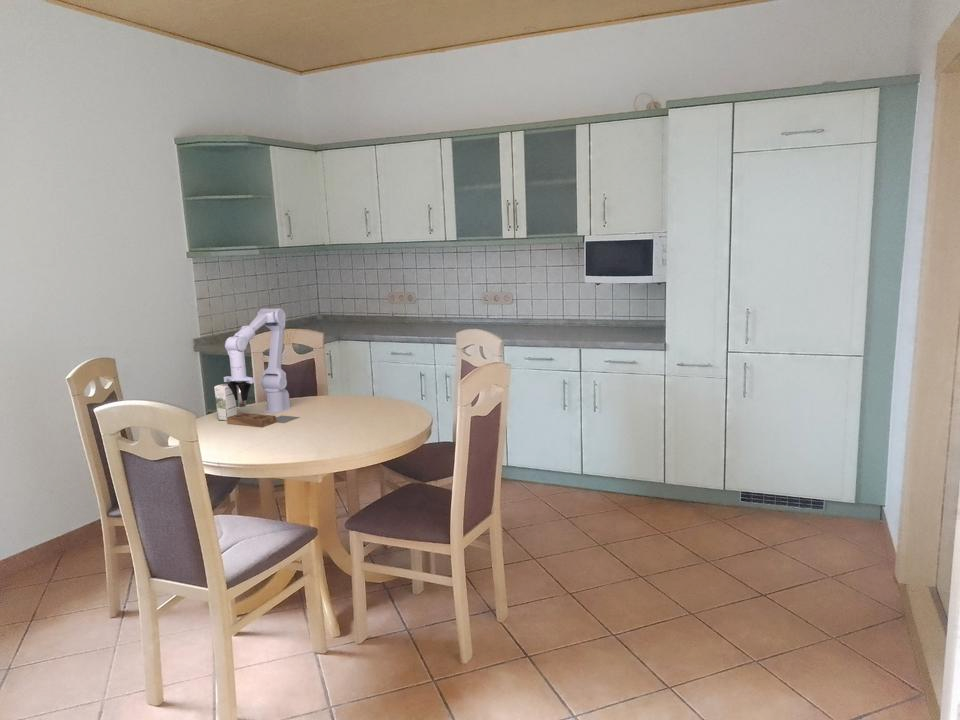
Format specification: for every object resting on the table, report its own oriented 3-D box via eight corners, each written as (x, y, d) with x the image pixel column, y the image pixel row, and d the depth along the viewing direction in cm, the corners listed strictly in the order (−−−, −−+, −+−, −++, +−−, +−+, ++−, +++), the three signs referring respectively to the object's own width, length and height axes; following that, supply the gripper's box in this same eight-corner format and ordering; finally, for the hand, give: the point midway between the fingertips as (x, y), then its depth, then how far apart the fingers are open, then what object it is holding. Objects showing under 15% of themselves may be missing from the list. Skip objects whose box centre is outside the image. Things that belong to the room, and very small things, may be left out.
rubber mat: (281, 416, 292) (281, 415, 292) (300, 417, 288) (300, 417, 288) (264, 422, 283) (264, 421, 283) (284, 423, 279) (284, 423, 279)
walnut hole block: (242, 419, 288) (241, 412, 288) (276, 423, 281) (275, 415, 280) (227, 424, 281) (227, 417, 281) (262, 428, 273) (261, 420, 273)
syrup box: (238, 418, 292) (234, 383, 289) (227, 421, 287) (224, 386, 284) (227, 417, 294) (224, 383, 292) (217, 420, 289) (213, 386, 287)
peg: (243, 405, 284) (241, 383, 282) (247, 405, 282) (245, 383, 281) (236, 406, 282) (234, 384, 280) (241, 407, 280) (239, 385, 278)
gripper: (216, 367, 278) (220, 401, 281) (244, 369, 272) (247, 403, 275) (230, 364, 285) (233, 397, 287) (257, 366, 279) (260, 399, 281)
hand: (241, 400), depth 281 cm, fingers closed on peg, 3 cm apart
